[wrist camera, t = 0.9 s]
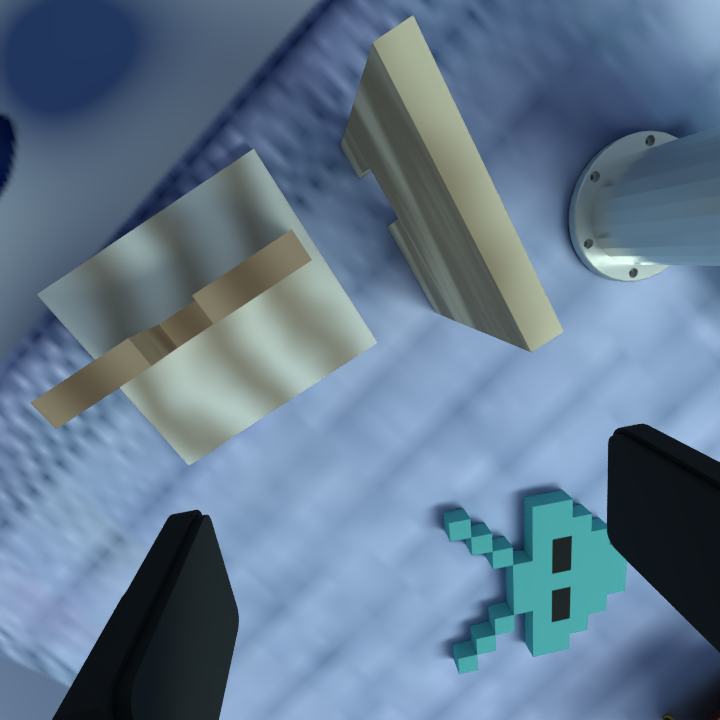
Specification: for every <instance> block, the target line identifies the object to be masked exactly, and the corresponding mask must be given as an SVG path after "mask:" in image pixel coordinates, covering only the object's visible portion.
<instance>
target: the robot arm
mask: <svg viewBox="0 0 720 720" xmlns="http://www.w3.org/2000/svg"><path fill="white" fill-rule="evenodd" d="M569 230H570V236H571V241H572V243H573V246H574V249H575V251H576V253H577V255H578V256H579V258H580V259H581V261H582V262H583V263H584V264H585V265H586V266H587V267H588V268H589V269H590V270H591V271H592V272H594V273H595V274H597V275H599V276H600V277H603V278H606V279H609V280H614V281H624V282H634V281H639V280H644V279H647V278H650V277H652V276H655V275H657V274H659V273H660V272H662V271H663V270H665V269H667V268H668V267H669V266H671V265H696V266H720V126H717V127H714V128H711V129H707V130H704V131H701V132H698V133H695V134H692V135H689V136H686V137H683V138H679V139H678V138H677V137H674V136H672V135H670V134H668V133H665V132H659V131H641V132H637V133H634V134H630V135H627V136H625V137H622V138H620V139H618V140H615V141H614V142H612V143H610V144H609V145H607V146H606V147H604V148H603V149H602V150H601V151H600V152H599V153H598V154H596V155H595V156H594V157H593V158H592V159H591V161H590V162H589V163H588V165H587V166H586V167H585V169H584V170H583V172H582V174H581V176H580V177H579V179H578V181H577V183H576V186H575V189H574V192H573V195H572V197H571V203H570V209H569ZM607 535H608V538H609V540H610V543H611V544H612V546H613V547H614V548H615V549H616V550H617V551H618V552H619V553H620V554H621V555H622V556H623V557H624V558H625V559H626V560H627V561H628V562H629V563H630V564H631V565H632V566H633V567H634V568H635V569H636V570H637V571H638V572H639V573H640V574H641V575H642V576H643V577H644V578H645V579H646V580H647V581H648V582H649V583H650V584H651V585H652V586H653V587H654V588H655V589H656V590H657V591H658V592H659V593H660V594H661V595H662V596H663V597H664V598H665V599H666V600H667V601H668V602H669V603H670V604H671V605H672V606H673V607H674V608H675V609H676V610H677V611H678V612H679V613H680V614H681V615H682V616H683V617H684V618H685V619H686V620H687V621H688V622H689V623H690V624H691V625H692V626H693V627H694V628H695V629H696V630H697V631H698V632H699V633H700V634H701V635H702V636H703V637H704V638H705V639H706V640H707V641H708V642H709V643H710V644H712V645H713V646H714V647H715V648H716V649H717V650H718V651H719V652H720V462H718V461H716V460H714V459H712V458H710V457H709V456H707V455H705V454H703V453H701V452H699V451H697V450H695V449H693V448H691V447H689V446H687V445H685V444H683V443H681V442H680V441H678V440H676V439H674V438H672V437H670V436H668V435H666V434H664V433H662V432H660V431H658V430H656V429H654V428H652V427H651V426H649V425H646V424H637V425H632V426H627V427H621V428H618V429H616V430H615V432H614V433H613V436H611V437H610V438H609V442H608V494H607ZM238 626H239V615H238V609H237V605H236V602H235V598H234V595H233V591H232V588H231V585H230V581H229V578H228V575H227V571H226V568H225V565H224V561H223V558H222V554H221V551H220V548H219V544H218V541H217V538H216V534H215V531H214V528H213V524H212V521H211V518H210V516H209V515H203V516H202V513H201V512H200V511H199V510H193V511H188V512H183V513H177V514H173V515H170V516H169V518H168V519H167V521H166V523H165V524H164V526H163V528H162V530H161V531H160V533H159V535H158V537H157V538H156V540H155V542H154V544H153V545H152V547H151V549H150V551H149V553H148V554H147V556H146V558H145V560H144V561H143V563H142V565H141V567H140V568H139V570H138V572H137V574H136V576H135V577H134V579H133V581H132V583H131V584H130V586H129V588H128V590H127V591H126V593H125V594H124V595H123V597H122V598H121V600H120V601H119V603H118V605H117V607H116V609H115V610H114V612H113V614H112V616H111V617H110V619H109V621H108V623H107V624H106V626H105V628H104V630H103V631H102V633H101V635H100V637H99V638H98V640H97V642H96V644H95V645H94V647H93V649H92V651H91V652H90V654H89V656H88V658H87V659H86V661H85V663H84V665H83V666H82V668H81V670H80V672H79V673H78V675H77V677H76V679H75V680H74V682H73V684H72V686H71V687H70V689H69V691H68V693H67V694H66V696H65V698H64V700H63V701H62V703H61V705H60V707H59V709H58V710H57V712H56V714H55V716H54V717H53V719H52V720H219V717H220V712H221V707H222V702H223V698H224V693H225V688H226V684H227V679H228V674H229V669H230V665H231V660H232V655H233V651H234V646H235V641H236V636H237V632H238Z"/></svg>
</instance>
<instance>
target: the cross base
mask: <svg viewBox="0 0 720 720" xmlns="http://www.w3.org/2000/svg"><path fill="white" fill-rule="evenodd" d="M37 295H38V296H39V298H40V299H41V300H42V301H43V302H44V303H45V304H46V305H47V307H48V308H49V309H50V310H51V311H52V312H53V313H54V314H55V316H56V317H57V318H58V319H59V320H60V321H61V322H62V323H63V325H64V326H65V327H66V328H67V329H68V330H69V331H70V332H71V334H72V335H73V336H74V337H75V338H76V339H77V340H78V341H79V343H80V344H81V345H82V346H83V347H84V348H85V349H86V350H87V352H88V353H89V354H90V355H91V356H92V357H93V358H94V359H95V360H94V361H93V362H91V363H90V364H88V365H87V366H85V367H84V368H82V369H81V370H79V371H78V372H76V373H75V374H73V375H72V376H70V377H69V378H67V379H66V380H64V381H63V382H61V383H60V384H58V385H57V386H55V387H54V388H52V389H51V390H49V391H48V392H46V393H45V394H43V395H42V396H40V397H39V398H37V399H36V400H34V401H33V402H31V404H32V405H33V406H34V407H35V408H36V409H37V410H38V411H39V412H40V413H41V414H42V415H43V416H44V417H45V418H46V419H47V420H48V421H49V422H50V423H51V425H52V426H53V427H54V428H55V429H57V428H59V427H60V426H62V425H63V424H65V423H66V422H68V421H69V420H71V419H73V418H74V417H76V416H77V415H79V414H80V413H82V412H83V411H85V410H86V409H88V408H89V407H91V406H92V405H94V404H95V403H97V402H98V401H100V400H101V399H103V398H104V397H106V396H107V395H109V394H110V393H112V392H113V391H115V390H116V389H118V388H120V389H121V390H122V391H123V392H124V393H125V394H126V395H127V397H128V398H129V399H130V400H131V401H132V402H133V403H134V404H135V406H136V407H137V408H138V409H139V410H140V411H141V412H142V413H143V415H144V416H145V417H146V418H147V419H148V420H149V421H150V422H151V424H152V425H153V426H154V427H155V428H156V429H157V430H158V431H159V433H160V434H161V435H162V436H163V437H164V438H165V439H166V440H167V442H168V443H169V444H170V445H171V446H172V447H173V448H174V449H175V451H176V452H177V453H178V454H179V455H180V456H181V457H182V458H183V460H184V461H185V462H186V463H187V464H188V465H191V464H192V463H194V462H195V461H197V460H198V459H200V458H202V457H203V456H205V455H206V454H208V453H209V452H211V451H212V450H214V449H215V448H217V447H218V446H220V445H221V444H223V443H225V442H226V441H228V440H229V439H231V438H232V437H234V436H235V435H237V434H238V433H240V432H241V431H243V430H244V429H246V428H248V427H249V426H251V425H252V424H254V423H255V422H257V421H258V420H260V419H261V418H263V417H264V416H266V415H267V414H269V413H270V412H272V411H274V410H275V409H277V408H278V407H280V406H281V405H283V404H284V403H286V402H287V401H289V400H290V399H292V398H293V397H295V396H297V395H298V394H300V393H301V392H303V391H304V390H306V389H307V388H309V387H310V386H312V385H313V384H315V383H316V382H318V381H319V380H321V379H323V378H324V377H326V376H327V375H329V374H330V373H332V372H333V371H335V370H336V369H338V368H339V367H341V366H342V365H344V364H346V363H347V362H349V361H350V360H352V359H353V358H355V357H356V356H358V355H359V354H361V353H362V352H364V351H365V350H367V349H368V348H370V347H372V346H373V345H375V344H376V343H377V341H376V340H375V338H374V337H373V335H372V333H371V332H370V330H369V329H368V327H367V326H366V324H365V323H364V321H363V319H362V318H361V316H360V315H359V313H358V312H357V310H356V308H355V307H354V305H353V304H352V302H351V301H350V299H349V297H348V296H347V294H346V293H345V291H344V290H343V288H342V286H341V285H340V283H339V282H338V280H337V279H336V277H335V275H334V274H333V272H332V271H331V269H330V268H329V266H328V264H327V263H326V261H325V260H324V258H323V257H322V255H321V253H320V252H319V250H318V249H317V247H316V246H315V244H314V243H313V241H312V239H311V238H310V236H309V235H308V233H307V232H306V230H305V228H304V227H303V225H302V224H301V222H300V221H299V219H298V217H297V216H296V214H295V213H294V211H293V210H292V208H291V206H290V205H289V203H288V202H287V200H286V199H285V197H284V195H283V194H282V192H281V191H280V189H279V188H278V186H277V184H276V183H275V181H274V180H273V178H272V177H271V175H270V174H269V172H268V170H267V169H266V167H265V166H264V164H263V163H262V161H261V159H260V158H259V156H258V155H257V153H256V152H255V150H254V149H252V150H251V151H249V152H248V153H246V154H245V155H243V156H242V157H240V158H239V159H237V160H236V161H235V162H233V163H232V164H230V165H229V166H227V167H226V168H224V169H223V170H221V171H220V172H218V173H217V174H215V175H214V176H212V177H211V178H209V179H208V180H206V181H205V182H203V183H202V184H200V185H199V186H197V187H196V188H194V189H193V190H191V191H190V192H188V193H187V194H185V195H184V196H182V197H181V198H179V199H178V200H176V201H175V202H173V203H172V204H171V205H169V206H168V207H166V208H165V209H163V210H162V211H160V212H159V213H157V214H156V215H154V216H153V217H151V218H150V219H148V220H147V221H145V222H144V223H142V224H141V225H139V226H138V227H136V228H135V229H133V230H132V231H130V232H129V233H127V234H126V235H124V236H123V237H121V238H120V239H118V240H117V241H115V242H114V243H112V244H111V245H110V246H108V247H107V248H105V249H104V250H102V251H101V252H99V253H98V254H96V255H95V256H93V257H92V258H90V259H89V260H87V261H86V262H84V263H83V264H81V265H80V266H78V267H77V268H75V269H74V270H72V271H71V272H69V273H68V274H66V275H65V276H63V277H62V278H60V279H59V280H57V281H56V282H55V283H53V284H51V285H50V286H48V287H47V288H46V289H44V290H43V291H41V292H40V293H38V294H37Z"/></svg>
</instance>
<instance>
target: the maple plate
mask: <svg viewBox="0 0 720 720" xmlns="http://www.w3.org/2000/svg"><path fill="white" fill-rule="evenodd" d="M341 148H342V150H343V152H344V153H345V155H346V157H347V159H348V160H349V162H350V164H351V166H352V167H353V169H354V171H355V173H356V174H357V176H358V178H361V177H362V176H364V175H365V174H367V173H368V172H370V171H372V173H373V174H374V176H375V178H376V180H377V181H378V183H379V185H380V187H381V189H382V190H383V192H384V194H385V196H386V198H387V199H388V201H389V203H390V205H391V206H392V208H393V210H394V212H395V214H396V215H397V217H398V219H397V220H396V221H394V222H393V223H391V224H390V225H388V226H387V228H388V230H389V232H390V234H391V235H392V237H393V239H394V241H395V242H396V244H397V246H398V248H399V249H400V251H401V253H402V255H403V256H404V258H405V260H406V262H407V263H408V265H409V267H410V268H411V270H412V272H413V274H414V275H415V277H416V279H417V281H418V282H419V284H420V286H421V288H422V289H423V291H424V293H425V295H426V296H427V298H428V300H429V302H430V303H431V305H432V307H433V309H434V310H435V312H436V313H437V314H440V315H442V316H445V317H447V318H450V319H452V320H454V321H457V322H459V323H462V324H464V325H466V326H469V327H471V328H474V329H476V330H479V331H481V332H483V333H486V334H488V335H491V336H493V337H496V338H498V339H500V340H503V341H505V342H508V343H510V344H512V345H515V346H517V347H520V348H522V349H525V350H527V351H529V352H533V351H534V350H536V349H537V348H539V347H540V346H542V345H544V344H545V343H547V342H548V341H550V340H551V339H553V338H554V337H556V336H557V335H559V334H561V333H562V332H564V331H563V329H562V327H561V325H560V323H559V321H558V319H557V316H556V314H555V312H554V310H553V308H552V306H551V304H550V302H549V300H548V298H547V295H546V293H545V291H544V289H543V287H542V285H541V283H540V281H539V279H538V277H537V274H536V272H535V270H534V268H533V266H532V264H531V262H530V260H529V258H528V256H527V253H526V251H525V249H524V247H523V245H522V243H521V241H520V239H519V237H518V235H517V232H516V230H515V228H514V226H513V224H512V222H511V220H510V218H509V216H508V213H507V211H506V209H505V207H504V205H503V203H502V201H501V199H500V197H499V195H498V192H497V190H496V188H495V186H494V184H493V182H492V180H491V178H490V176H489V174H488V171H487V169H486V167H485V165H484V163H483V161H482V159H481V157H480V155H479V153H478V150H477V148H476V146H475V144H474V142H473V140H472V138H471V136H470V134H469V132H468V129H467V127H466V125H465V123H464V121H463V119H462V117H461V115H460V113H459V111H458V108H457V106H456V104H455V102H454V100H453V98H452V96H451V94H450V92H449V89H448V87H447V85H446V83H445V81H444V79H443V77H442V75H441V73H440V71H439V68H438V66H437V64H436V62H435V60H434V58H433V56H432V54H431V52H430V50H429V47H428V45H427V43H426V41H425V39H424V37H423V35H422V33H421V31H420V29H419V26H418V24H417V22H416V20H415V18H414V16H413V15H412V16H411V17H410V18H408V19H407V20H405V21H404V22H402V23H401V24H399V25H398V26H396V27H395V28H393V29H392V30H390V31H389V32H387V33H386V34H384V35H383V36H381V37H380V38H378V39H377V40H375V41H374V42H373V43H372V46H371V49H370V53H369V56H368V59H367V62H366V66H365V69H364V72H363V75H362V78H361V82H360V85H359V88H358V91H357V95H356V98H355V101H354V104H353V107H352V111H351V114H350V117H349V120H348V123H347V127H346V130H345V133H344V136H343V140H342V143H341Z"/></svg>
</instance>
